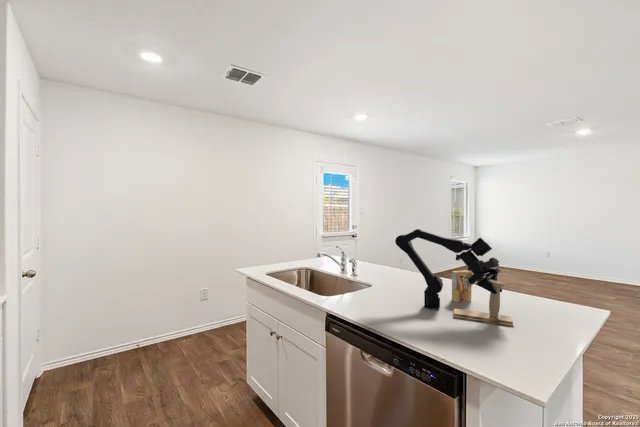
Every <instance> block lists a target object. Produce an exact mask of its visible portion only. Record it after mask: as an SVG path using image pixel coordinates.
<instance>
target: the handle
mask: <svg viewBox="0 0 640 427" xmlns="http://www.w3.org/2000/svg"><path fill="white" fill-rule="evenodd" d="M497 280H498V279H497ZM497 280H489V282H490V283H491V284H492V286H493V287H494V289H495V290H496V292H497V294H493V293H491V292H490V294H489V301H488V303H489V304H488V311H489V312H488V313H489V314H490V316H491V317H498V315H499V313H500V309H501V308H500V306H501V292H500V288H501V289H502V288H503V287H504V286H505V283H504V281H500V280H498V281H497Z"/></svg>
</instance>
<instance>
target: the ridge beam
mask: <svg viewBox="0 0 640 427" xmlns="http://www.w3.org/2000/svg"><path fill="white" fill-rule="evenodd" d="M452 317H453V319H457V320H462V321H463V320H465V321H470V322H477V323H483V324H490V325H491V324H492V325H496V326H503V327H504V326H505V327H510V328H514V322H513V318H512V316H511V315H506V314H505V315H504V314H498V317H491V316H490V314H489V312H482V311H474V310H469V309H462V308H461V309H459V308H453V316H452Z"/></svg>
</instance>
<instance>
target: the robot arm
mask: <svg viewBox="0 0 640 427" xmlns="http://www.w3.org/2000/svg"><path fill="white" fill-rule="evenodd" d="M417 238H419V239H421V240H423V241H424V240H425V241H428V242H430V243H434V244H437V245H440V246H442V247H444V248H445V249H447V250H449V251H451V252H453V253H456V254H455V260H456V262H459V261H462V263H464V264H465V266H467V271H470V272H472V276H470V277H469V278H468V282H469V284H470V285H475V286H478V287H480V288H482V289H484V290H486V291H488V292H490V293H493V294H497V292H496V290H495V289H494V287H493V286H492V284H491V283H490V282H489V280H497V281H499V279H498V275H499V273H501V270H500V269H499V268H498V267H499V266H500V264H499V263H500V260H498V259H497V258H495V257H491V258H489V259H488V260H487V261H483V260H482V259H481V260H480V259H479V258H478V257H479V256H480V257H483V256H485V255H486V254H487V253H489V252H491V250H493V247H491V245H489V243H487V242H486V241H485V240H484V239H483V238H482V237H479V238H477V239H476V240H475V241H474V242H472V243H466V242H464V241H463V240H462V239H457V238H452V237H451V238H450V237H443V236H440V235H437V234H434V233H431V232H428V231H425V230H423V229H420V228H416V229H414V230H413V231H411V232H409V233H407V234H400V235H397V237H396V238H395V245H396V246H397V247H398V248H399V249H400V250H401V251H403V252H404V253H405V254H406V255H407V256H408V257H409V259H410V260H411V261H412V263H413V264H414V266H415V267H416V269H418V271H419V272H420V274H421V275H422V277H423V278H424V281H425V283H426V285H427V286H426V288H425V290H424V291H423V293H424V298H423V299H424V301H423V302H424V305H423V308H424V309H429V310H439V309H440V307H441V297H440V294H439V293H441V291H442V290H443V287H444V284H443V279H442V278H441V277H440V275H439V273H436V274H434V273H433V272H432V270H430V268H429V266H427V264H426V263H425V261H424V260H423V258H422V257H421V256H420V255H419V254H418V252H417V251H416V250H415V249H414V245H413V242H412V241H413V240H414V239H415V240H416V239H417ZM475 283H476V284H475ZM502 292H503V289H502V287H501V288H500V293H502Z"/></svg>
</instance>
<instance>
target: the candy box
mask: <svg viewBox="0 0 640 427" xmlns="http://www.w3.org/2000/svg"><path fill="white" fill-rule="evenodd" d="M472 275H473V273H472V271H471V270H470V271H468V269H466V270H464V269H463V270H452V271H451V301H453V302H455V303H463V302H465V303H466V302H472V285H470V284H469V282H468V278H469V277H470V276H472Z"/></svg>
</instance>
